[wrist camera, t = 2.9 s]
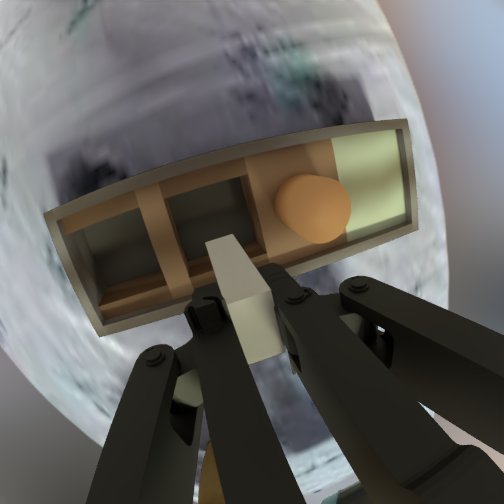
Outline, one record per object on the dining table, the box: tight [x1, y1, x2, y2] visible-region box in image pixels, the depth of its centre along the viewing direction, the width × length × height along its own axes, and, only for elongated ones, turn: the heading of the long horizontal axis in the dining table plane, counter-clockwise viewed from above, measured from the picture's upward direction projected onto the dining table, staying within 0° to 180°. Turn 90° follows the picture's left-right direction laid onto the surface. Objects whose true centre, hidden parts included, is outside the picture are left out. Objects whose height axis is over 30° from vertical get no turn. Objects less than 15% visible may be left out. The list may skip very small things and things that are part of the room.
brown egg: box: [274, 174, 351, 244], centre depth 22 cm, size 5×5×4 cm
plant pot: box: [198, 441, 226, 504], centre depth 32 cm, size 15×15×16 cm
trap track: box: [43, 119, 418, 337], centre depth 25 cm, size 12×34×6 cm, turn 104°
